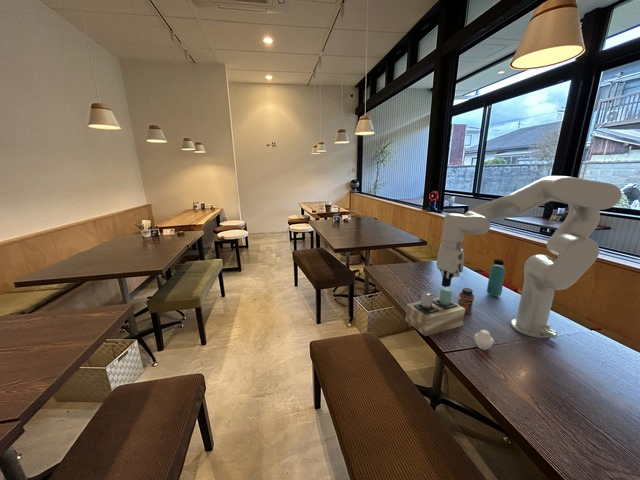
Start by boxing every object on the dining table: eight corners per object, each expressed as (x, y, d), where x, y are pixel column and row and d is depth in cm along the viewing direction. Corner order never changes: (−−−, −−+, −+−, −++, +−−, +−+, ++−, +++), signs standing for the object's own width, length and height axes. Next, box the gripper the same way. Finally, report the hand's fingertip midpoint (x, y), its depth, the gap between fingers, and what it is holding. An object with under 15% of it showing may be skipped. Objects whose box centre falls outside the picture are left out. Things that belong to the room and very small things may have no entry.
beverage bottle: (503, 297, 133) (510, 260, 127) (494, 299, 130) (501, 262, 125) (491, 292, 138) (497, 256, 133) (482, 294, 136) (488, 258, 131)
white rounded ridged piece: (470, 346, 96) (472, 330, 94) (476, 339, 100) (479, 323, 98) (488, 355, 92) (491, 338, 90) (494, 347, 95) (497, 331, 94)
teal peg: (452, 308, 110) (454, 291, 108) (444, 310, 109) (446, 293, 107) (444, 303, 114) (446, 287, 112) (436, 305, 113) (438, 288, 111)
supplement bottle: (456, 313, 119) (460, 290, 116) (457, 307, 124) (460, 285, 121) (471, 316, 116) (475, 293, 113) (471, 310, 121) (474, 288, 118)
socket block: (462, 325, 109) (465, 307, 107) (425, 336, 103) (427, 317, 100) (440, 311, 120) (442, 294, 118) (405, 320, 113) (406, 303, 111)
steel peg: (433, 313, 107) (435, 295, 105) (425, 315, 105) (427, 297, 103) (426, 308, 111) (427, 291, 109) (417, 310, 109) (419, 292, 107)
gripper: (474, 248, 99) (467, 292, 103) (444, 238, 112) (439, 278, 117) (460, 250, 96) (453, 295, 101) (430, 240, 110) (426, 280, 114)
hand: (445, 285), depth 109 cm, fingers closed
